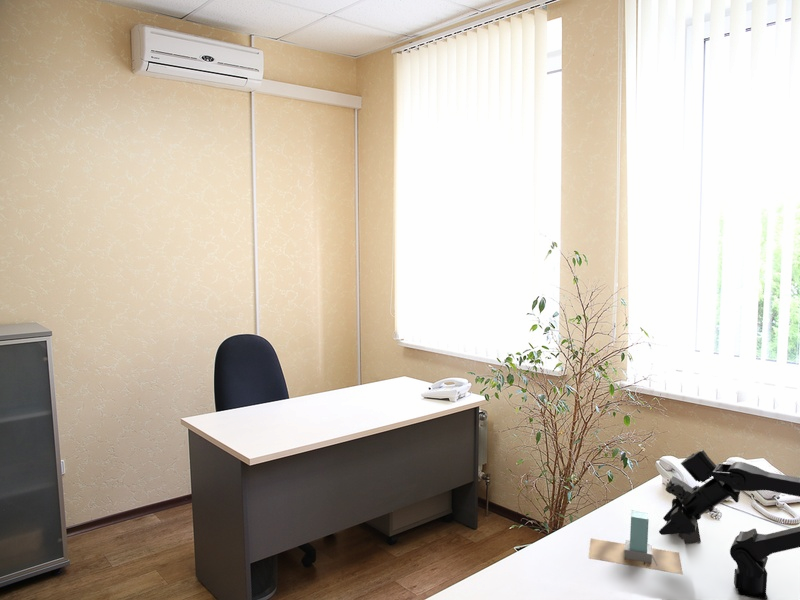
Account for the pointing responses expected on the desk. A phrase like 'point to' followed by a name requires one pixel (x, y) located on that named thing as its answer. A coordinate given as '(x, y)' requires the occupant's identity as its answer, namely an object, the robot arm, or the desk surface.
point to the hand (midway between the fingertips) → (662, 526)
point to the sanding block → (639, 538)
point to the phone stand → (694, 536)
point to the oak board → (617, 555)
